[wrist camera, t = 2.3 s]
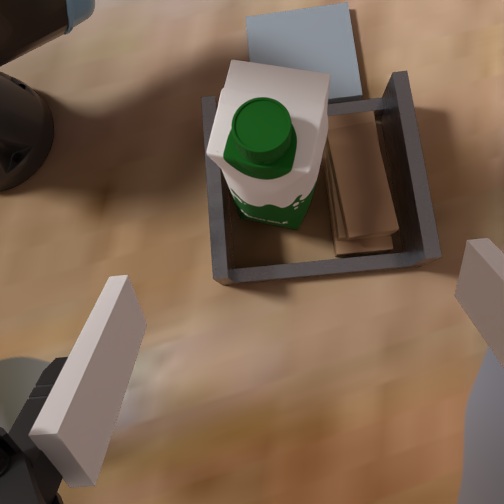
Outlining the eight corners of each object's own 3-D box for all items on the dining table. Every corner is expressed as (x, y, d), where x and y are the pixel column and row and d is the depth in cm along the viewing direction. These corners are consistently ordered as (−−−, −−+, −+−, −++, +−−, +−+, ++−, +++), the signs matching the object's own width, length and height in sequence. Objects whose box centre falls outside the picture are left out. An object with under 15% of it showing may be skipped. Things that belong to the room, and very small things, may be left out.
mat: (254, 112, 47) (254, 108, 46) (246, 22, 50) (245, 16, 49) (360, 99, 46) (362, 94, 45) (346, 8, 49) (347, 2, 48)
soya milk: (230, 224, 45) (188, 145, 25) (248, 153, 46) (220, 27, 26) (304, 239, 43) (320, 169, 24) (319, 166, 45) (346, 44, 25)
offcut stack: (335, 256, 43) (341, 248, 38) (318, 127, 46) (322, 105, 41) (389, 251, 42) (402, 242, 38) (368, 121, 45) (378, 98, 41)
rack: (222, 285, 43) (213, 278, 37) (211, 125, 47) (201, 97, 41) (419, 266, 42) (442, 256, 36) (391, 103, 46) (407, 70, 40)
